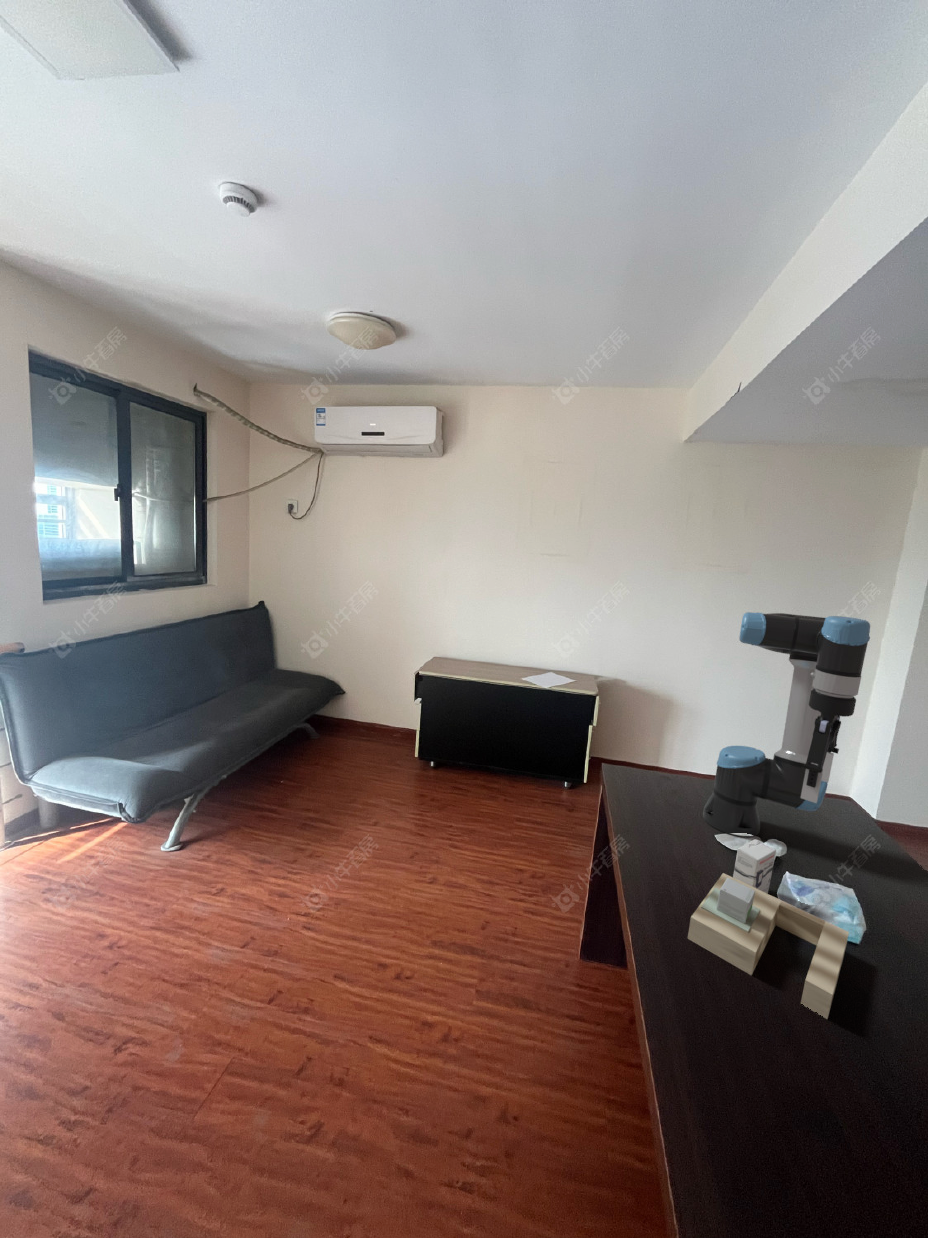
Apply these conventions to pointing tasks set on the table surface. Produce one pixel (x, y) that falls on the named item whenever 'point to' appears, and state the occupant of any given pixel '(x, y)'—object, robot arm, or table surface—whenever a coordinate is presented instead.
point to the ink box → (755, 865)
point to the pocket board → (751, 937)
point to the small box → (735, 900)
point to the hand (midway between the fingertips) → (814, 789)
